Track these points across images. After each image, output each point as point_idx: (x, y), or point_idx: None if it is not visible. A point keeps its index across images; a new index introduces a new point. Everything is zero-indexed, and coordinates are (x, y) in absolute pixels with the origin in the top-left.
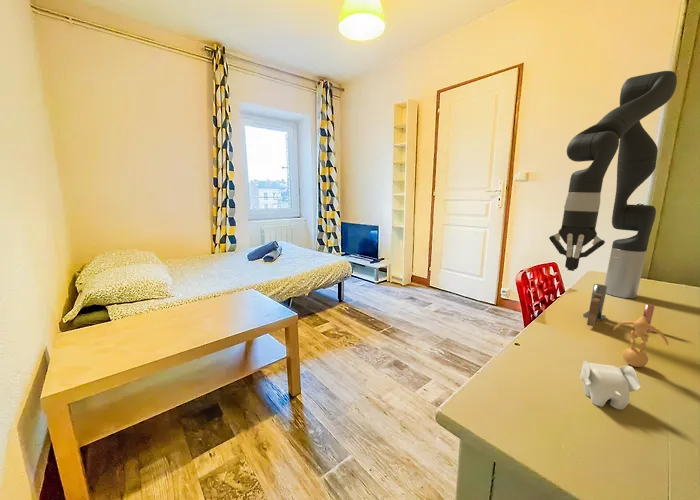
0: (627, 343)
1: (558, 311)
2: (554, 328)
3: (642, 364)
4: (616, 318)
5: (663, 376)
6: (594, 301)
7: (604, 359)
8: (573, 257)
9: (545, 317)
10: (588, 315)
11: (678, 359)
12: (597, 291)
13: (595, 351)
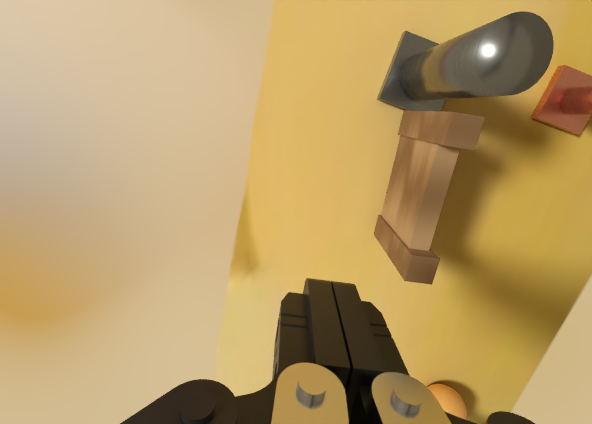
0: (460, 276)
1: (290, 101)
2: (282, 291)
3: None
4: None
5: (474, 401)
6: (416, 279)
7: None
8: (347, 398)
9: (250, 210)
10: (396, 101)
11: (547, 302)
12: (473, 94)
13: None
